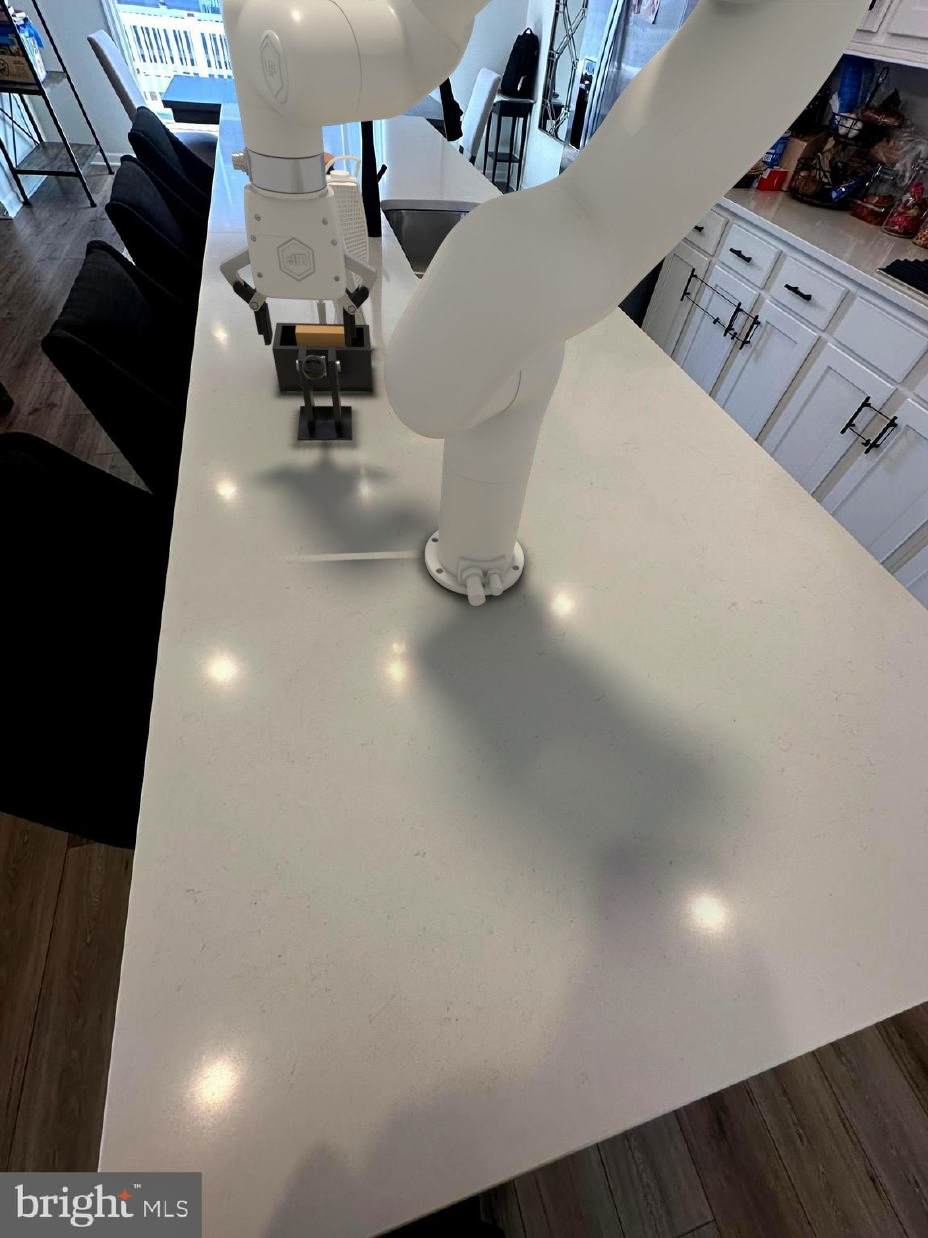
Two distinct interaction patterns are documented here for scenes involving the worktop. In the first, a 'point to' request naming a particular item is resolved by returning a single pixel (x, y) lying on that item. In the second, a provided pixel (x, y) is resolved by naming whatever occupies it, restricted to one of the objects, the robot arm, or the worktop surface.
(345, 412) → the lever bracket
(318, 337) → the orange square tile
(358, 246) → the skyscraper
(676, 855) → the worktop surface
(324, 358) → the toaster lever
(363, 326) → the black open box
